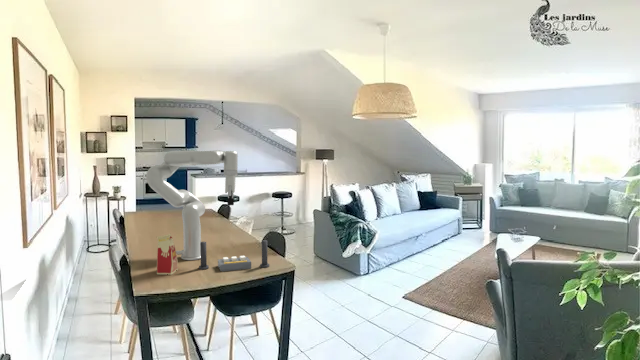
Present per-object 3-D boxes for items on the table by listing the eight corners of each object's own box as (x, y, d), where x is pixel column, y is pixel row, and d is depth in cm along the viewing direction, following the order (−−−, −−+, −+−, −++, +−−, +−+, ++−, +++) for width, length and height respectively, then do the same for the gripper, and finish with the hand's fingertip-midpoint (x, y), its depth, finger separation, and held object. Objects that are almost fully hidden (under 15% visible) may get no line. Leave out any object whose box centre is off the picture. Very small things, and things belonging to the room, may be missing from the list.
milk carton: (178, 269, 209) (177, 231, 207) (172, 274, 200) (171, 235, 198) (160, 268, 209) (159, 231, 207) (153, 274, 199) (153, 235, 198)
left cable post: (198, 269, 208) (197, 243, 206) (199, 266, 213) (198, 241, 211) (208, 269, 209) (207, 243, 207) (208, 266, 214) (208, 240, 212)
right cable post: (259, 267, 213) (259, 242, 212) (260, 265, 218) (260, 239, 217) (269, 267, 213) (269, 241, 212) (269, 264, 218) (269, 239, 217)
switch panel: (220, 272, 206) (220, 261, 205) (218, 266, 215) (217, 256, 215) (251, 269, 212) (251, 258, 211) (247, 263, 221) (247, 254, 221)
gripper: (225, 171, 232) (225, 203, 233) (222, 173, 217) (222, 207, 219) (238, 172, 233) (238, 203, 235) (236, 174, 218) (236, 207, 220)
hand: (230, 205), depth 227 cm, fingers closed
